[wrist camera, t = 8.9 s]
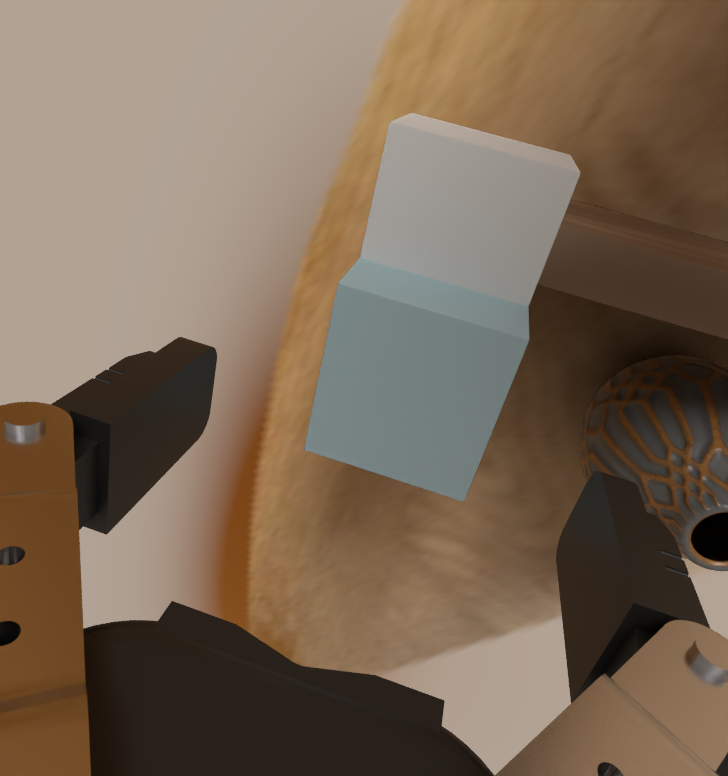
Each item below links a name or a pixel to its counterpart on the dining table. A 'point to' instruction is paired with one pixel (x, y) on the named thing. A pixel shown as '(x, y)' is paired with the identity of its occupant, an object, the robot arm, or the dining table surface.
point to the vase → (668, 447)
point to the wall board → (640, 268)
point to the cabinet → (437, 302)
